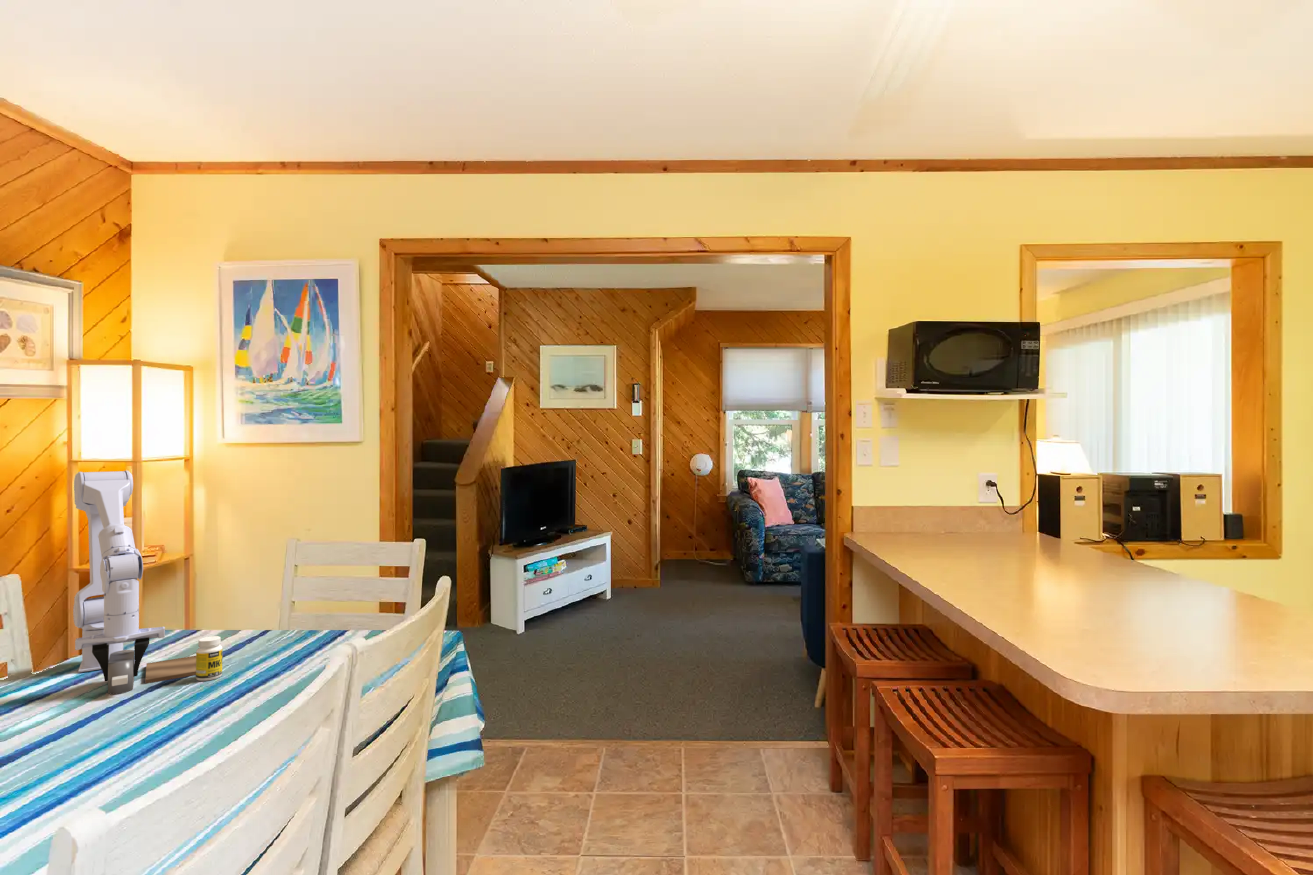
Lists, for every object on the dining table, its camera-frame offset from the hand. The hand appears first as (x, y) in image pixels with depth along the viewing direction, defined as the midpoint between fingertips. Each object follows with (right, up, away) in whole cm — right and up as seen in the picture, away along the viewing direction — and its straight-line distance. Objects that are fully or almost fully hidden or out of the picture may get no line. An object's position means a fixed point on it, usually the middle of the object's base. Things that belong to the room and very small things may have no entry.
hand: (121, 677), depth 140 cm
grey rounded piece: (0, -2, 0) cm, 2 cm away
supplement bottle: (+15, -2, +5) cm, 16 cm away
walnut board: (+5, -2, +10) cm, 11 cm away
